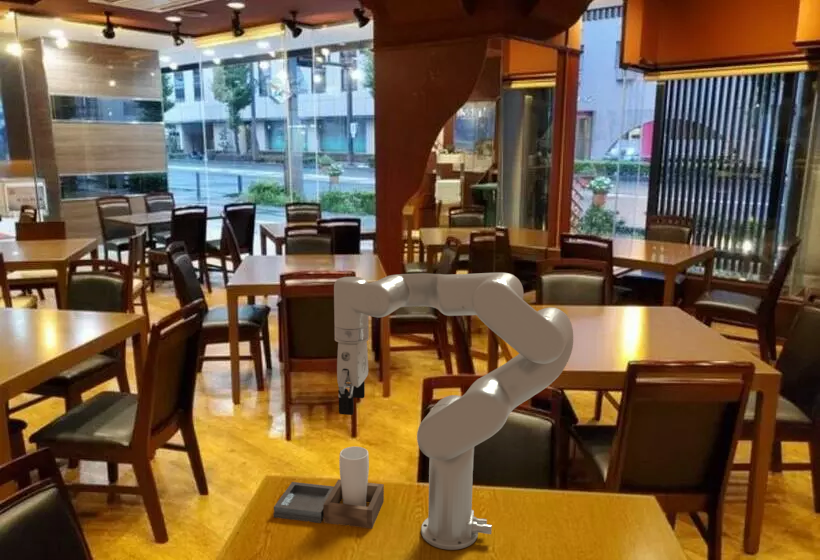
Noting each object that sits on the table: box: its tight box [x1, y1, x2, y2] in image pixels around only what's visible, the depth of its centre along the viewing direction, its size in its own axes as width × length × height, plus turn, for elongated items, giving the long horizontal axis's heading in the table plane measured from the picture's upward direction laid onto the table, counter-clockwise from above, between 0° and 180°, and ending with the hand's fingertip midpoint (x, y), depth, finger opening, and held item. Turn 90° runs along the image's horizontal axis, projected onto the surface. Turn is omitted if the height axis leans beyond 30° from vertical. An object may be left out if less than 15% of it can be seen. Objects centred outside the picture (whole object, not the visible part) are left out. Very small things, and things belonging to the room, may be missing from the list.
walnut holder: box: [323, 479, 385, 529], centre depth 145 cm, size 11×11×4 cm
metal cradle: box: [273, 481, 335, 524], centre depth 147 cm, size 11×12×2 cm
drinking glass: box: [338, 446, 370, 507], centre depth 144 cm, size 7×7×15 cm
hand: (352, 405), depth 140 cm, fingers open, 9 cm apart
